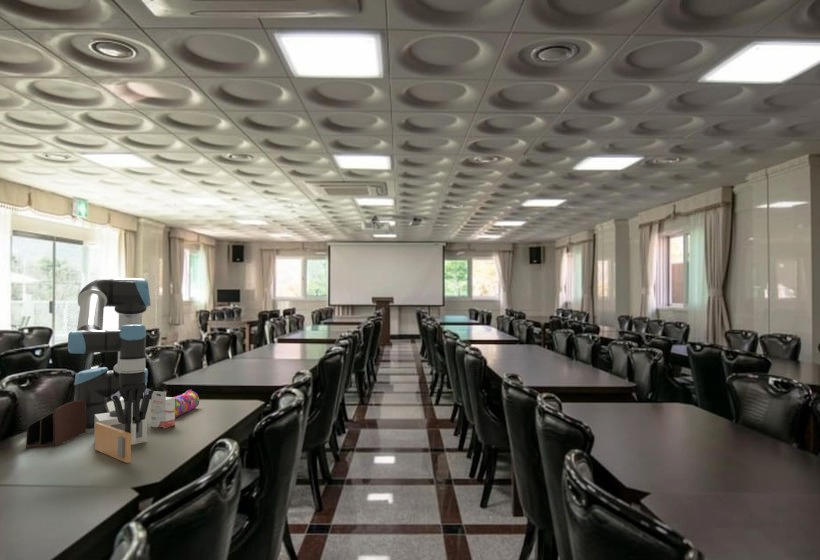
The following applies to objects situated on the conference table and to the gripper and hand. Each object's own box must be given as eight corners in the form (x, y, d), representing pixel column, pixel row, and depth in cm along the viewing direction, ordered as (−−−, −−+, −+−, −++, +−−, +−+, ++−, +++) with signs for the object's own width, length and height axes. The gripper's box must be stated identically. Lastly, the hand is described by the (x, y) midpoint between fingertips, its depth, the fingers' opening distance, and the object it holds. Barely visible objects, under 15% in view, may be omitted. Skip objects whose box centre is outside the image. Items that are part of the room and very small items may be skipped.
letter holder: (86, 432, 196) (87, 397, 196) (54, 447, 176) (55, 407, 176) (59, 433, 195) (60, 397, 195) (25, 448, 175) (26, 408, 176)
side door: (97, 448, 172) (98, 422, 173) (130, 461, 157) (131, 433, 158) (91, 449, 171) (91, 423, 171) (123, 463, 156) (124, 434, 156)
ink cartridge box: (175, 425, 205) (175, 390, 205) (165, 428, 200) (166, 392, 201) (160, 424, 208) (160, 388, 209) (150, 426, 203) (150, 391, 204)
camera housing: (94, 441, 182) (94, 411, 183) (139, 434, 192) (140, 405, 192) (98, 449, 172) (99, 417, 172) (146, 441, 181) (147, 411, 182)
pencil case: (180, 408, 239) (180, 389, 240) (200, 407, 240) (200, 389, 240) (161, 419, 217) (161, 398, 218) (182, 418, 218) (183, 397, 218)
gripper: (147, 368, 170) (146, 437, 169) (106, 372, 160) (105, 446, 159) (158, 369, 166) (157, 440, 165) (116, 374, 155) (115, 450, 154)
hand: (131, 443), depth 162 cm, fingers closed
